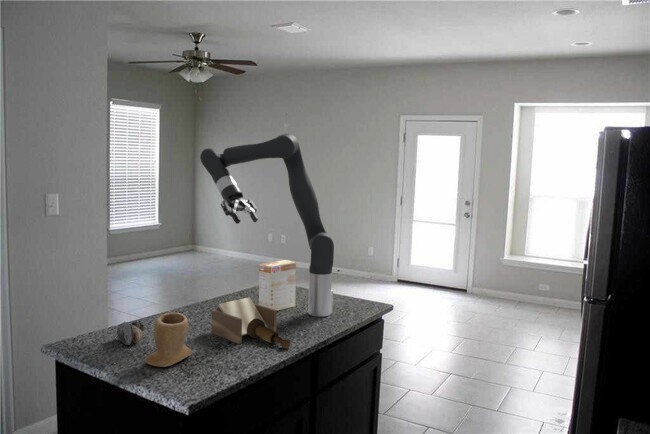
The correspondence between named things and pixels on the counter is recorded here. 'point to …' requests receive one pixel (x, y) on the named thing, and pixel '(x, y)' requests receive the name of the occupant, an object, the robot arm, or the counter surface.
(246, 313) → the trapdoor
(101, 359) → the counter surface
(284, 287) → the coffeecake box
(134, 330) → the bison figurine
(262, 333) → the brown wooden pepper mill
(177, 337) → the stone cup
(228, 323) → the brown upright panels
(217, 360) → the counter surface
